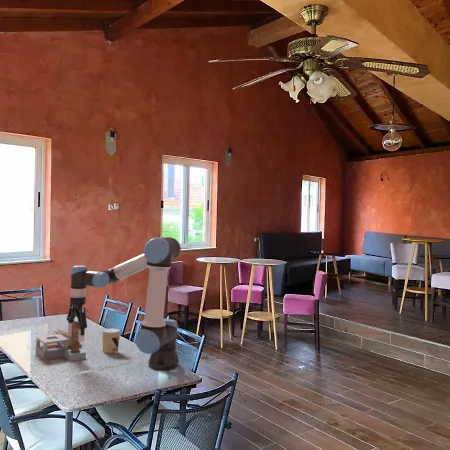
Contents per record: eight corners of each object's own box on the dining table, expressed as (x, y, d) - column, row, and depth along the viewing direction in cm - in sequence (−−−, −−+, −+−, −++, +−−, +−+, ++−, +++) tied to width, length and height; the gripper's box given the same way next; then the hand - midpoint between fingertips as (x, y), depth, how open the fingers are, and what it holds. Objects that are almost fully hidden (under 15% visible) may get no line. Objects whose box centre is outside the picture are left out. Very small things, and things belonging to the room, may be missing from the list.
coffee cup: (114, 356, 226) (115, 333, 226) (98, 354, 228) (99, 331, 228) (122, 351, 236) (123, 329, 235) (106, 349, 237) (107, 327, 237)
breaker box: (67, 357, 220) (68, 339, 220) (43, 361, 212) (44, 342, 212) (58, 351, 229) (59, 333, 229) (35, 355, 221) (36, 336, 221)
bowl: (85, 347, 238) (86, 329, 238) (61, 352, 228) (62, 333, 228) (72, 341, 249) (73, 324, 249) (48, 345, 238) (49, 327, 238)
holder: (85, 360, 218) (85, 352, 218) (69, 362, 212) (70, 354, 212) (79, 355, 224) (79, 348, 224) (63, 358, 218) (64, 350, 218)
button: (56, 355, 220) (56, 346, 220) (49, 356, 218) (49, 347, 218) (53, 353, 223) (54, 344, 223) (46, 355, 220) (47, 345, 220)
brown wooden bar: (79, 357, 218) (81, 322, 218) (72, 358, 216) (74, 322, 215) (76, 356, 220) (78, 320, 220) (70, 357, 218) (72, 321, 218)
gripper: (95, 299, 211) (93, 343, 211) (75, 292, 230) (73, 331, 230) (80, 301, 206) (78, 345, 206) (61, 292, 225) (59, 333, 225)
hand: (75, 338), depth 218 cm, fingers open, 13 cm apart
